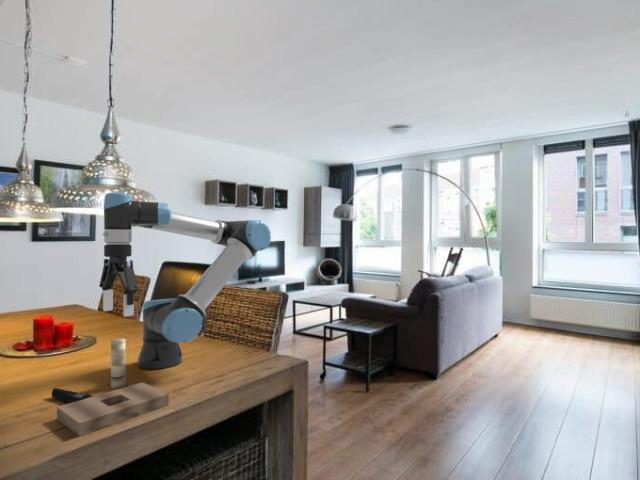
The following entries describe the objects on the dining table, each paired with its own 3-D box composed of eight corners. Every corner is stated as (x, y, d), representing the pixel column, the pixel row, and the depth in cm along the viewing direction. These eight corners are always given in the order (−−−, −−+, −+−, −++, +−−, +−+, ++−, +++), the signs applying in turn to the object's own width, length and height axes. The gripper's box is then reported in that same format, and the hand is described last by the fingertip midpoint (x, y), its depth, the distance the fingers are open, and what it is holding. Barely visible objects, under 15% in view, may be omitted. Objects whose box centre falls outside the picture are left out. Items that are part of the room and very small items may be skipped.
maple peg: (122, 382, 125) (122, 337, 125) (128, 385, 122) (128, 339, 122) (108, 386, 122) (108, 340, 122) (114, 389, 119) (114, 342, 119)
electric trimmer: (61, 396, 115) (61, 385, 115) (97, 404, 109) (97, 393, 109) (48, 401, 112) (47, 389, 112) (84, 410, 105) (84, 398, 105)
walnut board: (142, 392, 117) (142, 382, 117) (168, 405, 108) (168, 394, 108) (57, 418, 100) (57, 406, 99) (79, 436, 91) (79, 423, 91)
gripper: (87, 243, 127) (87, 310, 127) (124, 244, 111) (125, 320, 111) (112, 243, 132) (112, 306, 133) (150, 244, 117) (150, 316, 117)
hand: (118, 313), depth 122 cm, fingers open, 13 cm apart
